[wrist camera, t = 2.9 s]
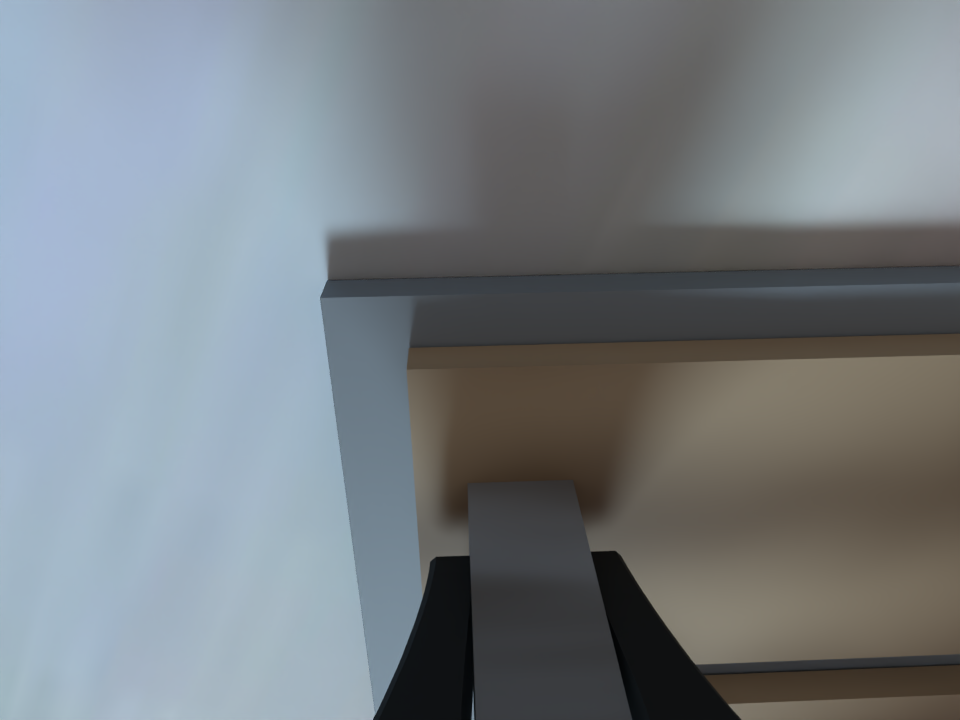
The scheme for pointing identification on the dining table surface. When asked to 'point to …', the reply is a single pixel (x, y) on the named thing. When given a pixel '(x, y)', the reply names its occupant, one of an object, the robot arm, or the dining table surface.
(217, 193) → the dining table surface
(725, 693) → the strip
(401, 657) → the robot arm
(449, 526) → the strip
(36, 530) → the dining table surface
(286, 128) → the dining table surface
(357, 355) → the lane board
